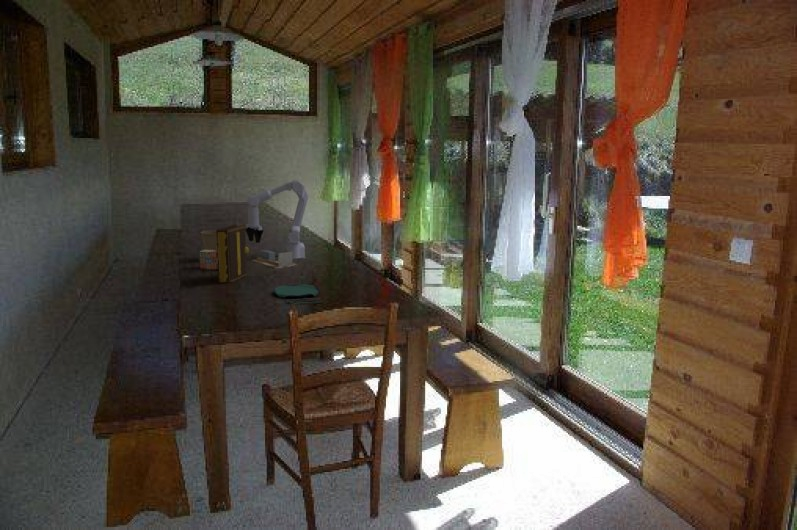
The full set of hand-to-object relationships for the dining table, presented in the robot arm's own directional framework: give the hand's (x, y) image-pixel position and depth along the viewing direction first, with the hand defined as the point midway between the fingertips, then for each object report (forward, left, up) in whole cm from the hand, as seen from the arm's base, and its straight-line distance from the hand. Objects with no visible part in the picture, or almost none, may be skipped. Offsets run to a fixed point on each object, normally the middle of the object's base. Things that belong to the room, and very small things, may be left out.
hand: (254, 241), depth 355 cm
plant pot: (+18, -12, -11) cm, 24 cm away
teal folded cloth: (+25, +87, -11) cm, 91 cm away
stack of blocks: (+25, +11, -11) cm, 29 cm away
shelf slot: (-3, +15, -10) cm, 19 cm away
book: (+31, +37, -11) cm, 50 cm away
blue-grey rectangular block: (-3, +8, -10) cm, 13 cm away
